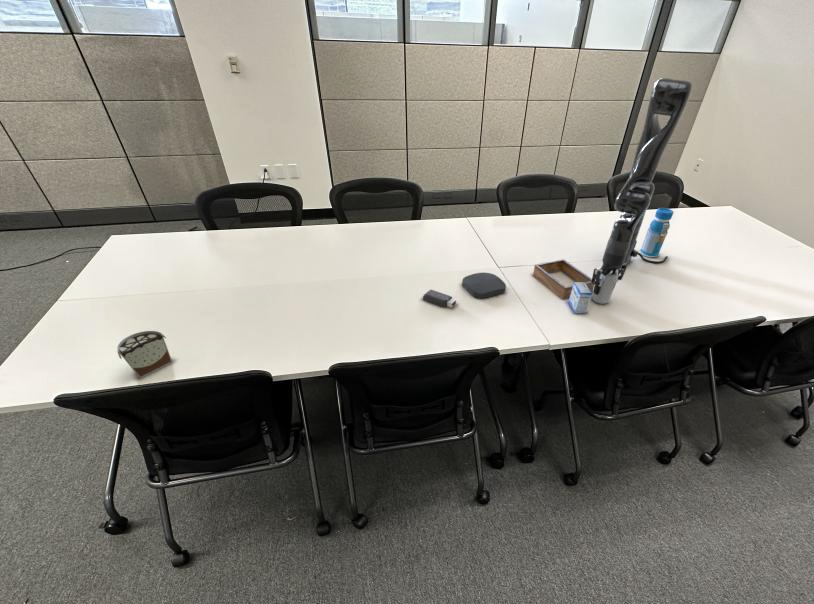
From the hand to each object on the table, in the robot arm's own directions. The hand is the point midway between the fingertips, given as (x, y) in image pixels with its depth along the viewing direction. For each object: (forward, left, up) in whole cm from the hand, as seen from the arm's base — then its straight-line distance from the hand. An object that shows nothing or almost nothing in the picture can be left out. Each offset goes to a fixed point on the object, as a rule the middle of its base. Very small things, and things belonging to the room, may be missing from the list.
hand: (603, 291), depth 158 cm
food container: (+153, -20, -4) cm, 154 cm away
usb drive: (+58, -22, -4) cm, 62 cm away
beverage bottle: (-50, -25, -4) cm, 56 cm away
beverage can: (0, 0, -4) cm, 4 cm away
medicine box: (+12, +1, -4) cm, 13 cm away
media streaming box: (+38, -25, -4) cm, 46 cm away
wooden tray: (+6, -17, -4) cm, 18 cm away
